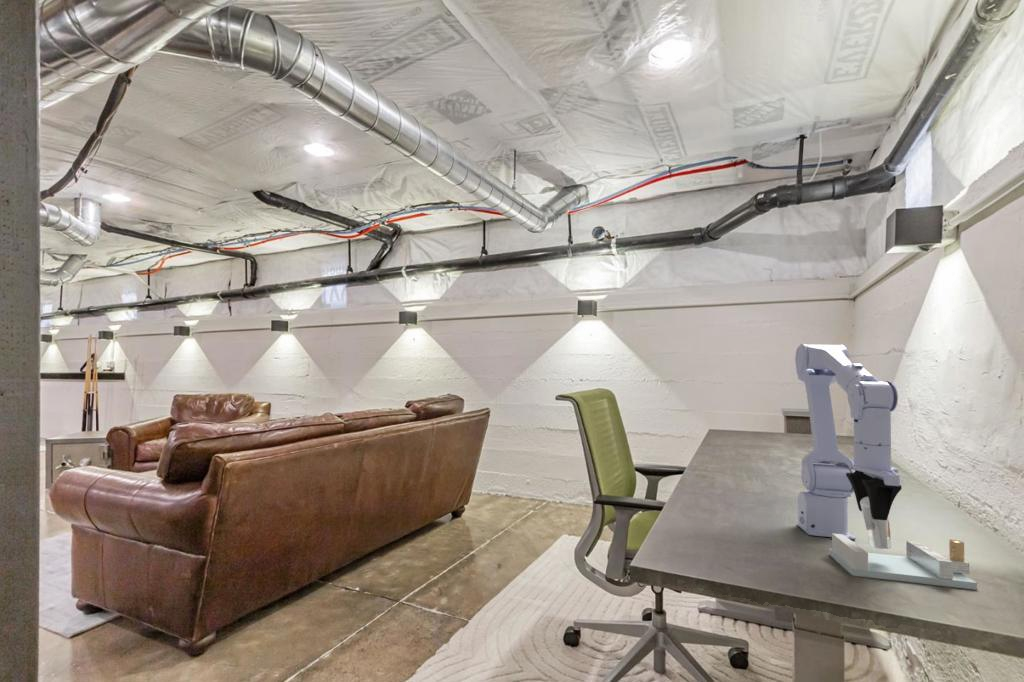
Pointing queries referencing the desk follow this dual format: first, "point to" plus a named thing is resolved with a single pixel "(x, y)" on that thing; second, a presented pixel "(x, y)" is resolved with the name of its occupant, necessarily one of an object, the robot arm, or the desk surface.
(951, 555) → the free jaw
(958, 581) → the pale blue stepped plate
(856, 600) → the desk surface
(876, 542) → the milkshake
